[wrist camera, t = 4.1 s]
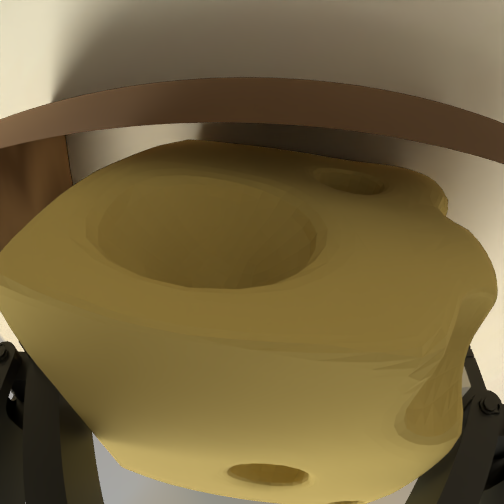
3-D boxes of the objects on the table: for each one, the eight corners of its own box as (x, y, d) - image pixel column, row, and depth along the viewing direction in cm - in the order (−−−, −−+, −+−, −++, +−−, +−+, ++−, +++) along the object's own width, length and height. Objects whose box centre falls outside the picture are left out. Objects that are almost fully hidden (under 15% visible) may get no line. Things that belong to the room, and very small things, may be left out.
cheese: (419, 165, 11) (574, 350, 3) (354, 346, 17) (361, 514, 8) (171, 127, 12) (-36, 254, 3) (179, 318, 18) (111, 472, 9)
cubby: (49, 106, 12) (-40, 136, 7) (447, 107, 10) (535, 137, 5) (105, 333, 20) (66, 394, 15) (372, 369, 18) (380, 450, 13)
